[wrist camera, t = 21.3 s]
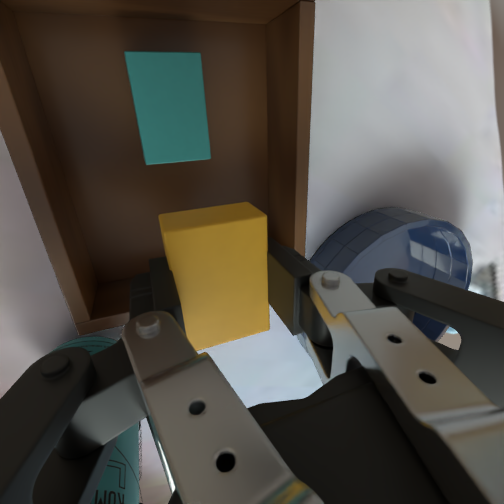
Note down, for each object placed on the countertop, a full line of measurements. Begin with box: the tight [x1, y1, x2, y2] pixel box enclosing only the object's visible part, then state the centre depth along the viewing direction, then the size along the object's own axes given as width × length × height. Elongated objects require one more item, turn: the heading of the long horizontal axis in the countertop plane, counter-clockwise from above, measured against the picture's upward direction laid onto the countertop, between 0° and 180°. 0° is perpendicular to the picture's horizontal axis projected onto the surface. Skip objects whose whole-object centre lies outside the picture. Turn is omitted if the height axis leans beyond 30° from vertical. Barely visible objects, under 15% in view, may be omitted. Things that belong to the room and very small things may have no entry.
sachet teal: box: [124, 51, 211, 165], centre depth 16 cm, size 5×4×2 cm
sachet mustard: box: [158, 202, 270, 351], centre depth 11 cm, size 5×4×2 cm
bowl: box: [297, 207, 473, 357], centre depth 28 cm, size 17×17×4 cm
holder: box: [0, 0, 315, 336], centre depth 16 cm, size 16×14×5 cm
